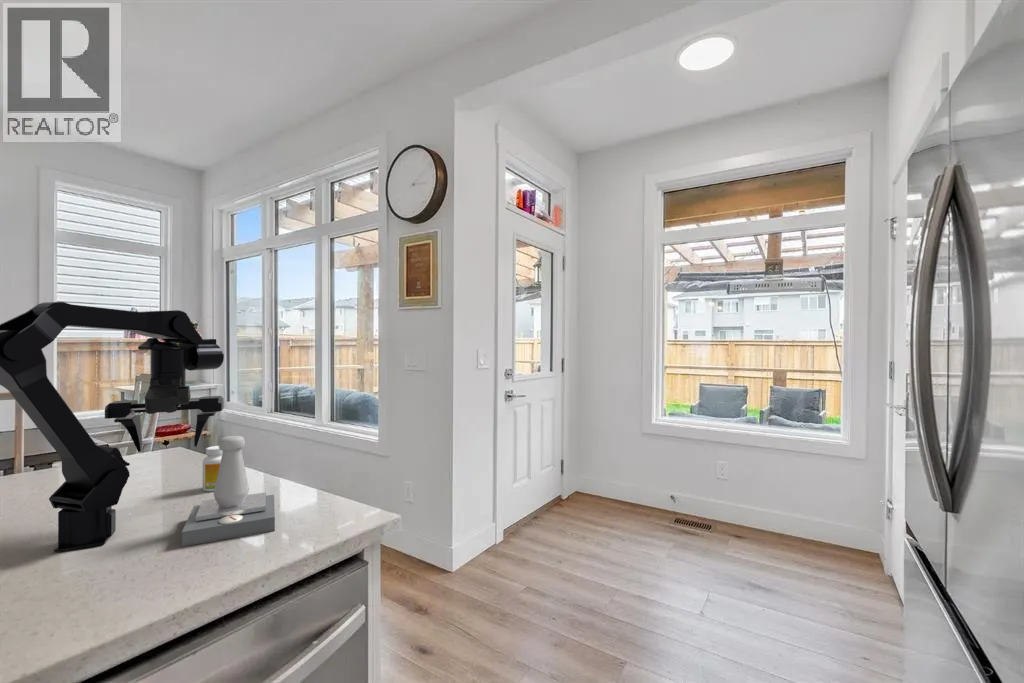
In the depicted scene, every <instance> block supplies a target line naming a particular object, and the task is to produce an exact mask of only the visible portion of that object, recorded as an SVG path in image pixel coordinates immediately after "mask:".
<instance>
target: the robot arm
mask: <svg viewBox="0 0 1024 683" xmlns="http://www.w3.org/2000/svg"><path fill="white" fill-rule="evenodd" d="M67 327H70V328H71V327H72V328H81V329H83V328H84V329H85V328H86V329H97V330H111V331H112V330H113V331H122V332H123V331H126V332H130V333H135V334H136V335H139V336H143V337H148V338H147V339H146V341H144V342H143V343H142V344H139V346H138V347H137V349H138V351H149V352H150V355H149V356H150V364H149V365H150V375H149V376H150V378H149V379H150V380H149V386H148V390H147V391H146V393H145V396H144V402H142V403H140V402H139V400H138V399H131V400H130V399H126V400H114V401H113V402H109V403H108V404H107V405H105V407H104V419H107V420H109V419H113V422H114V423H119V424H121V425H123V427H125V429H126V430H127V431H128V433H129V435H130V438H131V439H132V442H133V444H134V446H135V449H136V451H137V453H140V452H142V450H143V435H142V434H143V433H142V424H141V422H142V420H141V414H139V413H146V414H148V415H154V414H156V413H166V414H167V413H169V414H170V413H175V412H177V411H187V410H198V411H199V412H198V413H197V414H196V425H195V433H194V439H193V440H194V442H193V443H194V445H193V446H194V448H196V447H198V446H199V442H200V440H201V437H202V434H203V431H204V428H205V426H206V424H207V422H208V419H209V418H210V417H214V416H215V415H216V414H217V413H219V412H222V411H223V410H224V408H225V406H224V405H225V402H224V401H225V400H224V397H223V396H222V395H210V396H209V395H207V396H201V397H200V398H199V400H191V390H190V388H191V387H190V386H189V385H187V382H186V378H187V377H186V376H187V373H186V370H188V371H206V370H216V369H219V368H220V367H221V366H222V365H223V362H224V359H225V358H224V357H225V353H223V350H222V348H221V346H220V345H218V344H217V339H216V338H204V339H203V337H202V336H201V335H200V333H199V331H198V330H197V328H195V326H194V324H193V323H192V321H191V319H190V317H189V315H188V313H187V312H185V311H183V310H177V309H176V310H173V309H172V310H148V311H133V310H125V309H117V308H116V309H115V308H109V307H108V308H107V307H99V306H89V305H79V304H73V303H67V302H66V301H52V302H51V301H50V302H49V301H48V302H47V301H46V302H41V303H38V304H36V305H34V306H33V307H32V308H30V309H29V310H27V311H26V312H24V313H21V314H19V315H17V316H15V317H13V318H11V319H9V320H6V321H4V322H2V323H0V386H1V387H3V388H5V390H7V391H8V392H9V394H10V395H11V396H12V397H13V398H14V400H15V401H16V402H17V403H18V405H19V406H20V407H21V409H22V410H23V411H24V412H25V414H26V415H27V416H28V417H29V419H30V420H31V421H32V422H33V423H34V425H35V426H36V428H37V429H38V430H39V432H41V434H42V435H43V437H44V438H45V440H47V442H48V443H49V444H50V445H51V447H52V448H53V449H54V451H55V452H56V453H57V454H58V456H59V457H60V459H61V473H62V475H63V478H64V480H65V481H64V482H63V483H62V484H61V485H60V486H59V487H58V488H57V489H56V490H55V491H54V492H53V493H52V494H51V496H50V497H49V498H48V500H49V502H50V504H51V507H52V508H53V509H60V510H59V511H58V512H57V519H58V520H57V531H58V532H57V533H58V534H57V538H58V540H57V543H58V544H57V545H56V546H55V548H53V553H59V552H60V553H61V552H66V551H67V552H68V551H72V550H78V549H83V548H84V549H85V548H90V547H92V548H93V547H98V546H102V545H105V544H106V543H107V542H108V541H109V539H110V538H111V537H112V536H113V535H114V533H115V532H116V529H117V528H116V524H117V522H116V520H117V519H116V518H117V517H116V516H117V515H116V512H117V511H116V509H115V508H112V507H113V506H116V505H118V503H119V500H120V497H121V495H122V492H123V490H124V488H125V486H126V485H127V483H128V480H129V478H130V470H129V469H128V467H129V466H131V463H129V462H128V461H126V460H125V459H124V458H123V456H122V453H121V451H120V450H119V448H118V447H114V446H113V447H112V446H104V445H103V446H102V445H98V444H97V443H96V442H95V441H94V440H93V438H92V437H91V436H90V434H89V432H88V431H87V430H86V429H85V427H84V425H82V423H81V422H80V420H79V419H78V418H77V416H76V415H75V414H74V412H73V411H72V409H71V408H70V407H69V406H68V404H67V403H66V401H65V400H64V399H63V397H62V396H61V395H60V393H59V392H58V389H56V387H55V386H54V385H53V384H52V382H51V380H50V379H49V377H48V374H47V373H48V371H47V370H48V369H47V359H46V356H45V354H44V352H43V349H44V348H45V347H47V346H48V345H50V344H51V343H52V342H53V341H55V340H56V339H57V337H58V336H59V335H60V334H61V333H62V331H63V330H64V329H65V328H67ZM160 340H161V341H160Z"/></svg>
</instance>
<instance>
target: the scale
mask: <svg viewBox="0 0 1024 683" xmlns="http://www.w3.org/2000/svg"><path fill="white" fill-rule="evenodd" d="M200 506H201V504H197V505H193V507H192V509H191V511H190V513H189V515H188V518H187V520H186V522H185V524H184V527H183V528H182V531H181V547H188V546H194V545H199V544H207V543H212V542H217V541H223V540H228V539H229V540H230V539H234V538H239V537H240V538H241V537H246V536H252V535H257V534H263V533H268V532H274V531H275V530H276V529H275V528H276V524H275V523H276V522H275V520H276V519H275V518H276V514H275V513H276V512H275V511H276V510H275V494H270V495H269V494H266V510H265V511H258V512H252V513H245V514H239V515H231V516H226V517H219V518H213V519H206V520H199V521H196V515H197V513H198V510H199V508H200Z"/></svg>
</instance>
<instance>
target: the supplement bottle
mask: <svg viewBox="0 0 1024 683" xmlns="http://www.w3.org/2000/svg"><path fill="white" fill-rule="evenodd" d="M222 453H223V451H222V450H220V449H219V445H214V446H213V445H212V446H209V447H206V448H205V454H206V457H204V458H203V460H202V490H203V491H204V492H214V490H215V485H216V481H217V476H218V472H219V467H220V463H221V458H222Z"/></svg>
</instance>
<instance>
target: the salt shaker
mask: <svg viewBox="0 0 1024 683" xmlns="http://www.w3.org/2000/svg"><path fill="white" fill-rule="evenodd" d="M245 441H246V440H245V438H244V436H242V435H227V436H223V437H222V438H220V439H219V440H218V446H219V449H220V450H222V451H223V453H222V458H221V463H220V467H219V472H218V476H217V481H216V485H215V490H214V491H213V498H214V499H215V500H216V501H217V503H218V505H219V507H224V508H229V507H234V506H239V505H241V504H242V503H244V502H245V499H246V497H247V495H249V492H250V486H249V483H248V477H247V471H246V468H245V462H244V456H243V450H242V449H243V448H245V446H246V445H245V444H246V442H245Z"/></svg>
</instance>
